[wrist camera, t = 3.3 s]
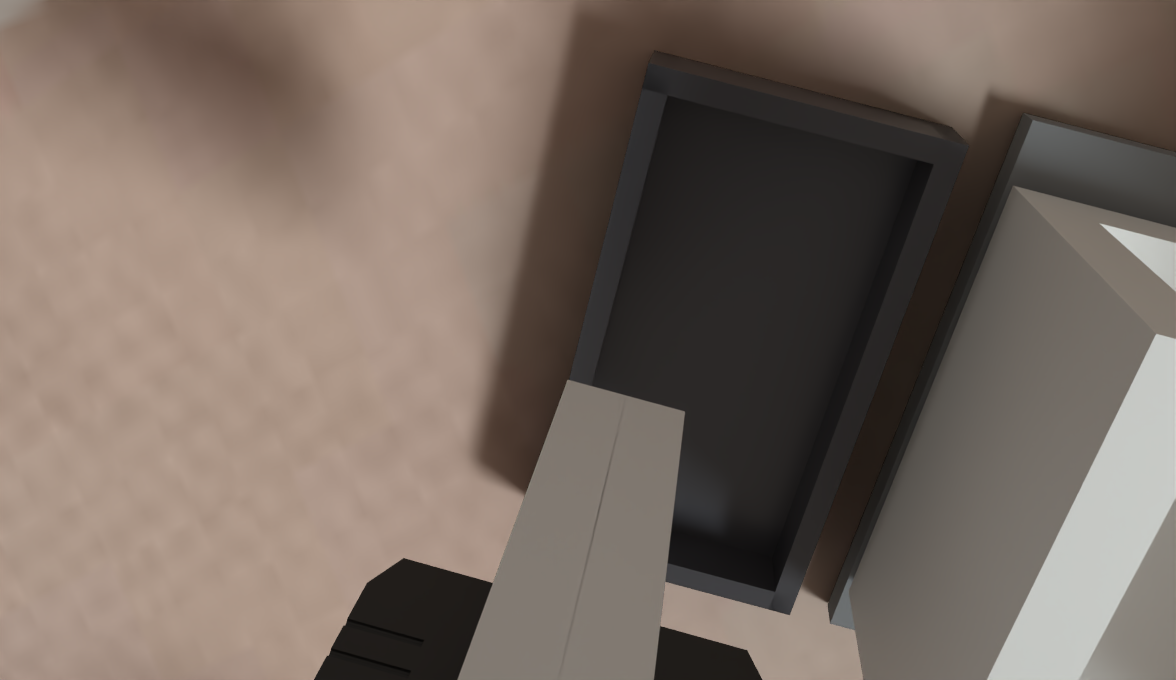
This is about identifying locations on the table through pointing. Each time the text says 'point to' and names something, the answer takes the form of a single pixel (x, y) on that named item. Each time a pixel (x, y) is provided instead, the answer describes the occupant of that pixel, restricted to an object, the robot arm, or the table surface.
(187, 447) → the table surface
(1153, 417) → the white u-shaped channel
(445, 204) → the table surface
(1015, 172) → the track
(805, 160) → the pit tray
